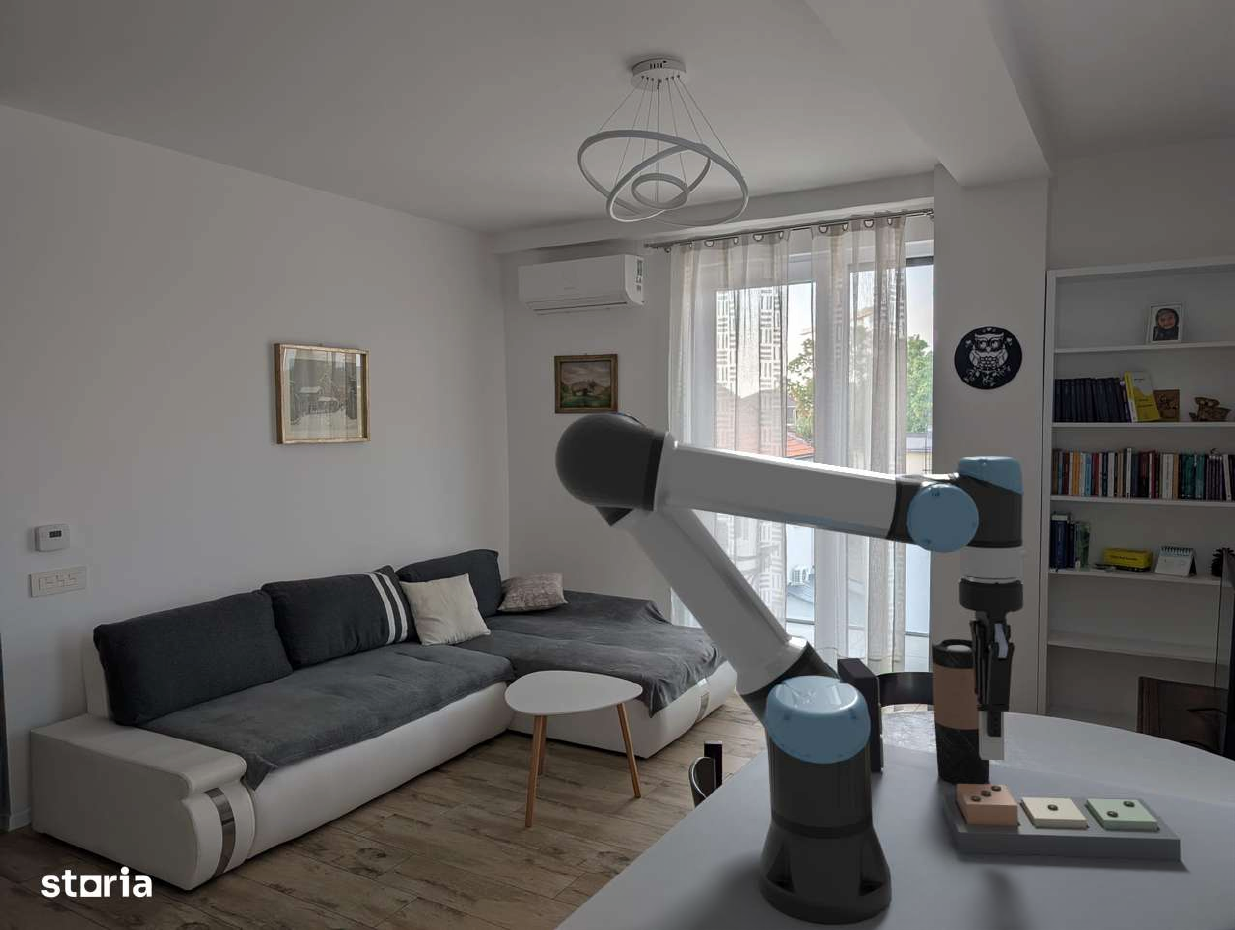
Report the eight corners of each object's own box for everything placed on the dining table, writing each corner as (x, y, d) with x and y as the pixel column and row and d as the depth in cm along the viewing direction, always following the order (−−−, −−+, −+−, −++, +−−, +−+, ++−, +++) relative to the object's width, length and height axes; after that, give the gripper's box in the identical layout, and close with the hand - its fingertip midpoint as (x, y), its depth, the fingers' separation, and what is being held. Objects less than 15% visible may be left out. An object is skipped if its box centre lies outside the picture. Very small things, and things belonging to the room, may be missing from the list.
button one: (1035, 841, 107) (1034, 816, 107) (1021, 819, 113) (1021, 795, 113) (1087, 843, 106) (1086, 818, 106) (1070, 820, 112) (1070, 796, 112)
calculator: (886, 772, 130) (882, 676, 130) (858, 774, 130) (854, 678, 130) (866, 745, 141) (862, 656, 141) (840, 746, 141) (836, 658, 141)
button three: (967, 826, 108) (966, 802, 108) (957, 805, 114) (956, 782, 114) (1017, 828, 107) (1017, 803, 107) (1005, 806, 113) (1004, 783, 113)
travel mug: (996, 788, 123) (991, 652, 122) (940, 787, 124) (935, 652, 123) (984, 767, 130) (980, 638, 129) (932, 765, 132) (927, 638, 131)
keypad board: (959, 851, 106) (959, 832, 106) (942, 811, 117) (942, 793, 117) (1180, 859, 102) (1180, 839, 101) (1142, 816, 112) (1141, 798, 112)
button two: (1104, 843, 105) (1103, 818, 105) (1087, 820, 111) (1086, 796, 111) (1157, 845, 104) (1157, 819, 104) (1137, 822, 110) (1136, 798, 110)
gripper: (1037, 587, 102) (1037, 780, 103) (1008, 568, 115) (1009, 740, 116) (970, 587, 103) (972, 777, 104) (949, 568, 116) (951, 737, 117)
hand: (991, 757), depth 110 cm, fingers closed
